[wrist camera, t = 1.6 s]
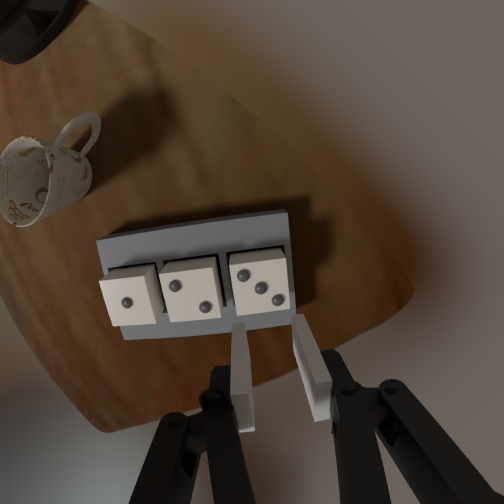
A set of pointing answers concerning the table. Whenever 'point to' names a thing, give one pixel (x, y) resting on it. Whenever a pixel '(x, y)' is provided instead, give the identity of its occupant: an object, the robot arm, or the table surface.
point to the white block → (133, 295)
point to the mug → (44, 174)
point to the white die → (192, 289)
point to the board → (196, 244)
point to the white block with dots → (259, 281)
